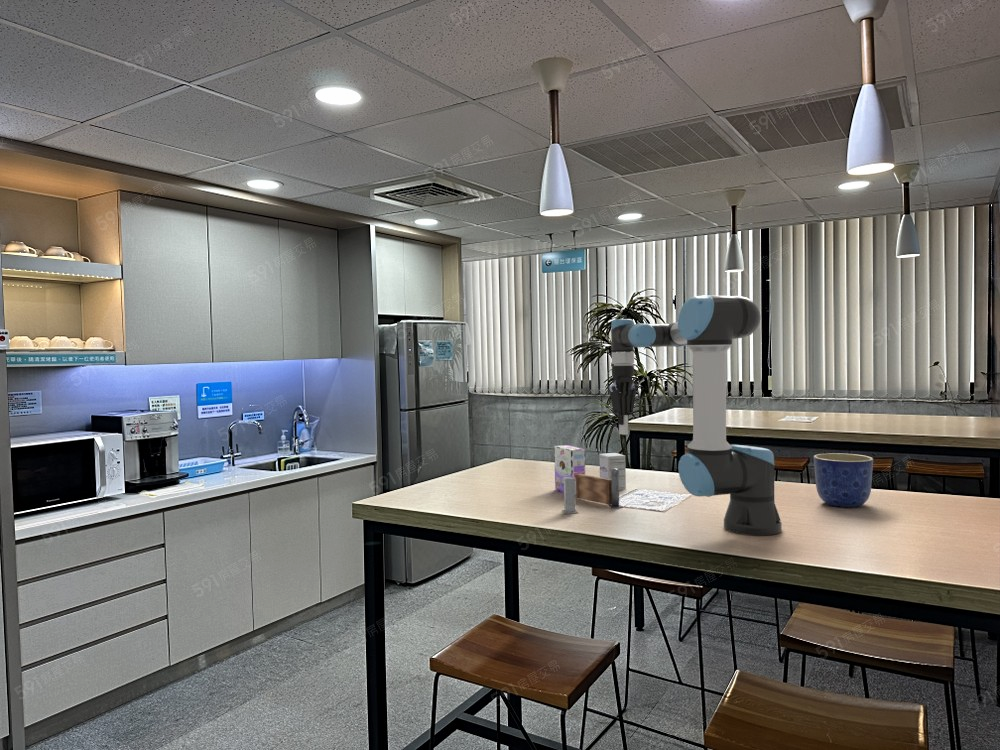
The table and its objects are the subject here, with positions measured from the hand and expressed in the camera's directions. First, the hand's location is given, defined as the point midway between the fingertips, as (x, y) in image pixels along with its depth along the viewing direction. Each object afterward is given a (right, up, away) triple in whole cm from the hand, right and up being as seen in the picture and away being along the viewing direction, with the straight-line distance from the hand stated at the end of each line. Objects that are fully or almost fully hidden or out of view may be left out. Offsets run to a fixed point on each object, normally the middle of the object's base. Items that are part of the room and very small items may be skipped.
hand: (623, 434), depth 230 cm
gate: (-11, -22, -4) cm, 25 cm away
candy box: (-17, -23, +14) cm, 31 cm away
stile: (-20, -23, -16) cm, 35 cm away
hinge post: (-5, -23, -11) cm, 26 cm away
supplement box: (0, -22, +20) cm, 30 cm away
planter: (+68, -22, -14) cm, 72 cm away
